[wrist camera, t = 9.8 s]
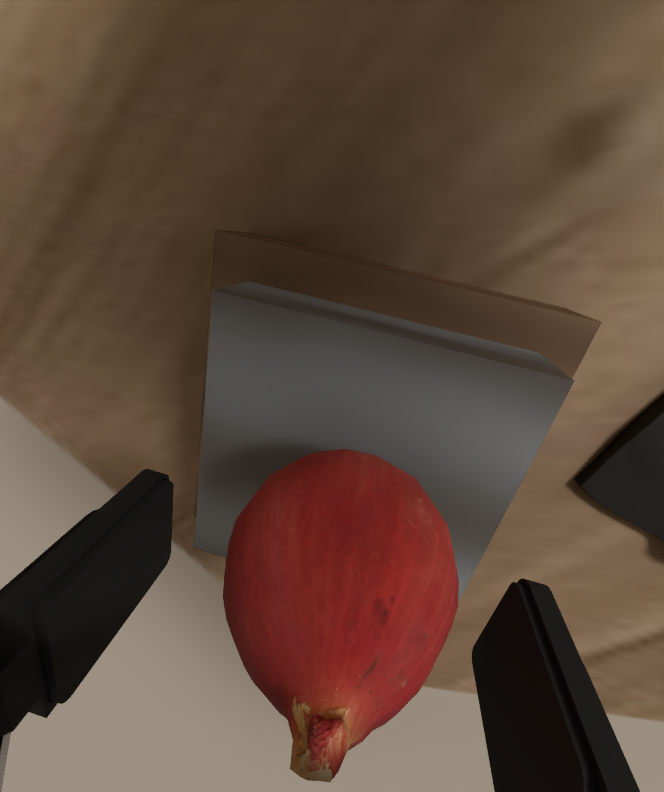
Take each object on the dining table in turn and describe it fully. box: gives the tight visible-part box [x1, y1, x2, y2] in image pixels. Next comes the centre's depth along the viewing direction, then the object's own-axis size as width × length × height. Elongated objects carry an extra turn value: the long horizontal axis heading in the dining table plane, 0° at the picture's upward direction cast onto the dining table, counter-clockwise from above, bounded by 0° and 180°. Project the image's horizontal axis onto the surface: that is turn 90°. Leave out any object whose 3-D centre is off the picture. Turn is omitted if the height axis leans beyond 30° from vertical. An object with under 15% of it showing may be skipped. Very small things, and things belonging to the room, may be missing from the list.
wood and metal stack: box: [194, 230, 601, 602], centre depth 16 cm, size 14×14×6 cm
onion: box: [223, 449, 459, 782], centre depth 9 cm, size 6×6×8 cm
